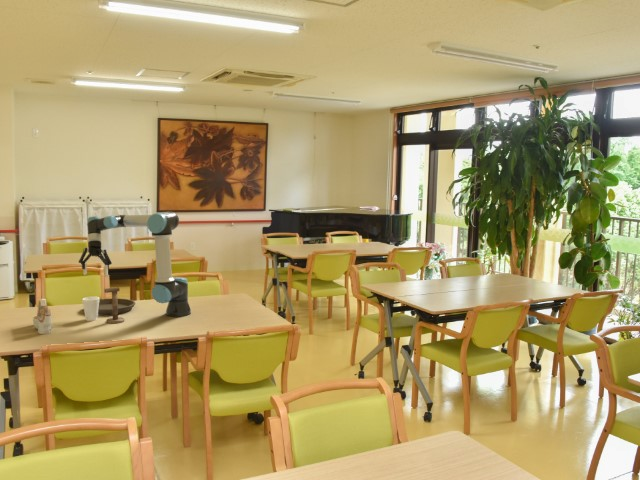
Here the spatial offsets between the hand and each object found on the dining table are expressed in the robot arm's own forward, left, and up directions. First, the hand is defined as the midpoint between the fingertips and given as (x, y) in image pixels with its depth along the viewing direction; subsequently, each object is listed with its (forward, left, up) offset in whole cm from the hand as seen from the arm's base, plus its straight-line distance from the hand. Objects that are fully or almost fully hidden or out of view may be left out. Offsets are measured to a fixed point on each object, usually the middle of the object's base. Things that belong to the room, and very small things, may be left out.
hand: (95, 275), depth 357 cm
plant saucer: (+10, -11, -26) cm, 30 cm away
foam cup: (-7, +6, -25) cm, 27 cm away
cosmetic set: (-10, +34, -26) cm, 44 cm away
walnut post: (-19, -4, -25) cm, 32 cm away
